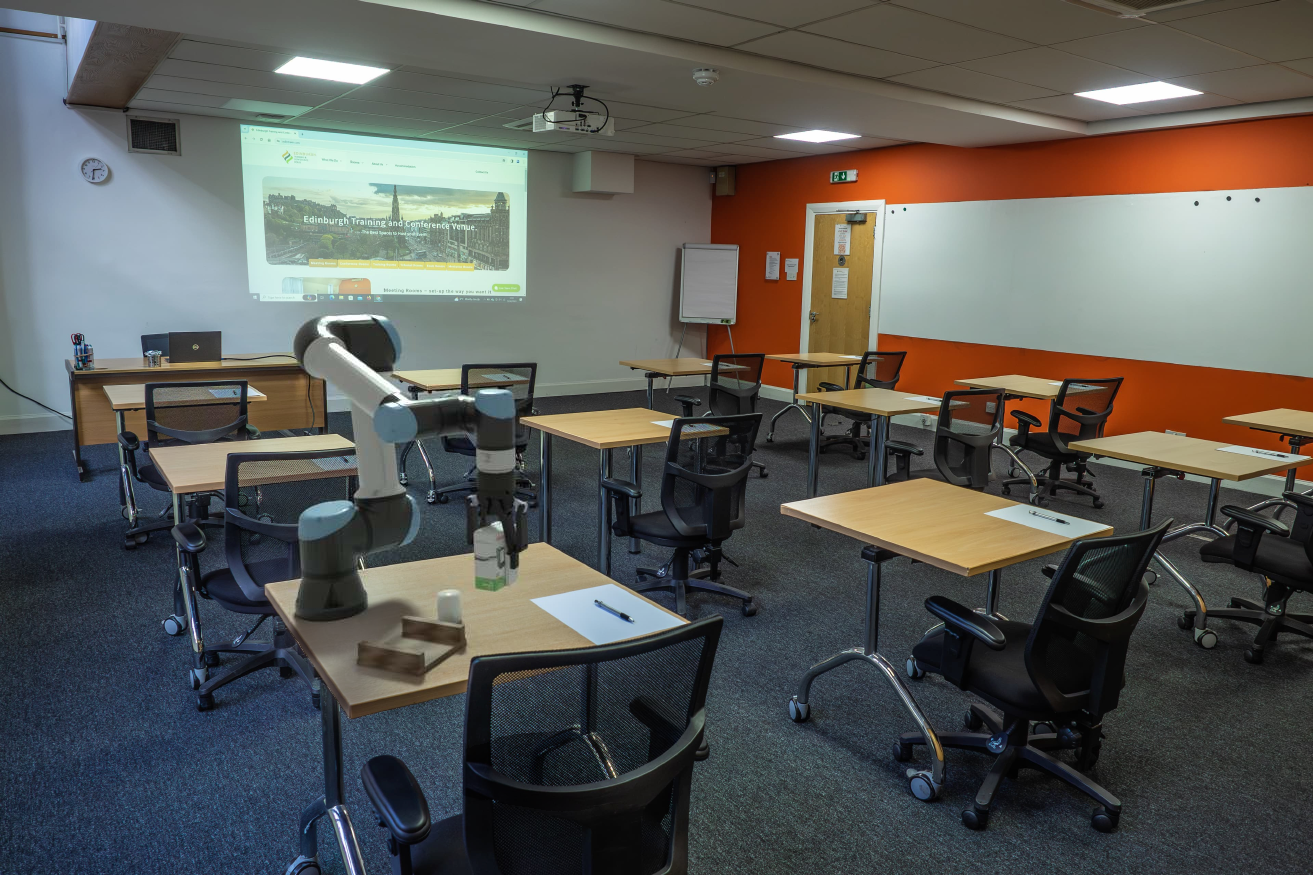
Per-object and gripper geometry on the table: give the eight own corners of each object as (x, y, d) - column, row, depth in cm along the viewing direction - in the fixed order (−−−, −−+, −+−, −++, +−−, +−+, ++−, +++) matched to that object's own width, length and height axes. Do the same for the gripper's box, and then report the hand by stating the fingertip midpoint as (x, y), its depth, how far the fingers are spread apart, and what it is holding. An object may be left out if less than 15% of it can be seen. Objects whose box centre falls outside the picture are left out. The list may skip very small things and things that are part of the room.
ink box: (495, 592, 164) (493, 534, 162) (474, 588, 166) (472, 531, 164) (519, 579, 171) (518, 523, 169) (498, 575, 173) (497, 520, 171)
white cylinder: (433, 622, 180) (432, 595, 179) (446, 614, 185) (445, 588, 184) (453, 625, 179) (452, 599, 178) (466, 617, 183) (465, 591, 182)
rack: (356, 664, 160) (355, 644, 159) (408, 632, 175) (407, 614, 174) (418, 676, 155) (417, 656, 155) (466, 642, 170) (466, 624, 169)
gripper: (445, 468, 164) (448, 581, 168) (527, 477, 158) (528, 594, 162) (466, 460, 171) (469, 569, 175) (546, 469, 165) (547, 581, 169)
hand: (497, 581), depth 169 cm, fingers closed on ink box, 5 cm apart
